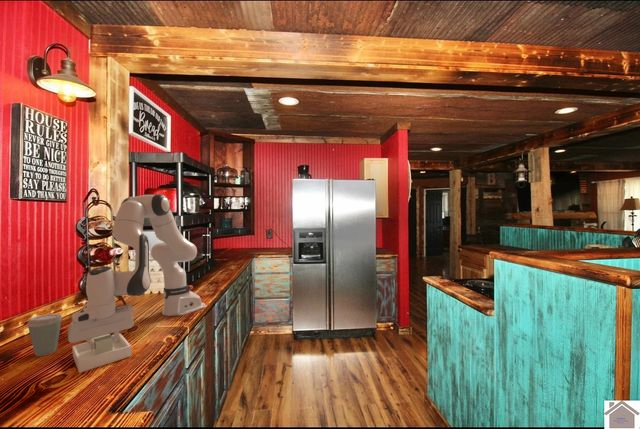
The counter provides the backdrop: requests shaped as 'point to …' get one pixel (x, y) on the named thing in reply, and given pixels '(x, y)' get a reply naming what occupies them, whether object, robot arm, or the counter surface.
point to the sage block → (103, 344)
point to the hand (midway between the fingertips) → (103, 346)
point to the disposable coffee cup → (44, 333)
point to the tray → (89, 360)
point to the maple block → (92, 343)
